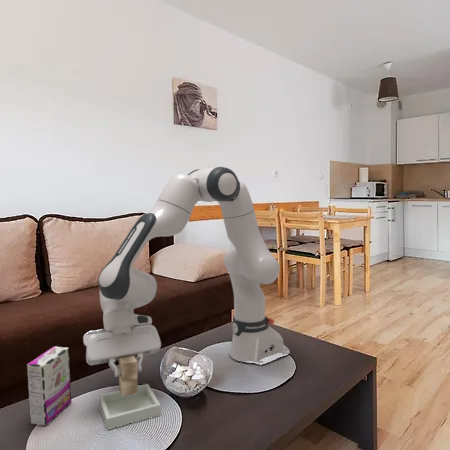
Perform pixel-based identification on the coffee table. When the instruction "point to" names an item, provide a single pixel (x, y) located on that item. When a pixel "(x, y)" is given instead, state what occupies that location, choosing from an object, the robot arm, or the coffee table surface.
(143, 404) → the tray
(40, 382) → the candy bar box
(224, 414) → the coffee table surface
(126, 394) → the maple block
